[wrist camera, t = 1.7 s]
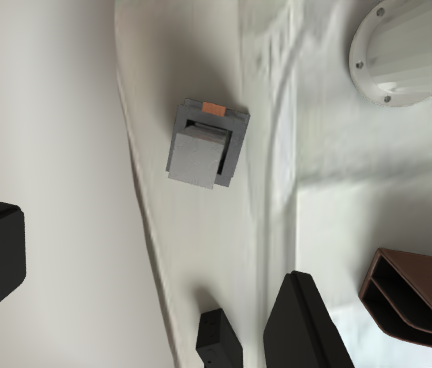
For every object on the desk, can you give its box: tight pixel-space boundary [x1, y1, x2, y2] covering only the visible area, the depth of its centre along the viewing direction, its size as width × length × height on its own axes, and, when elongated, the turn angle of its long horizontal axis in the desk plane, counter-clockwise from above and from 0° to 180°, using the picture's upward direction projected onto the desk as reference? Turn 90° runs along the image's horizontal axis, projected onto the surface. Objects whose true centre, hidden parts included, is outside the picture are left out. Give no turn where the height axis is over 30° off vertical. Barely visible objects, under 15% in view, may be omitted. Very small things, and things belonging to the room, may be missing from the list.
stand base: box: [166, 98, 250, 187], centre depth 31 cm, size 9×9×8 cm
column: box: [168, 122, 229, 189], centre depth 27 cm, size 4×4×14 cm
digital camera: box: [196, 308, 243, 368], centre depth 43 cm, size 10×5×7 cm, turn 24°
